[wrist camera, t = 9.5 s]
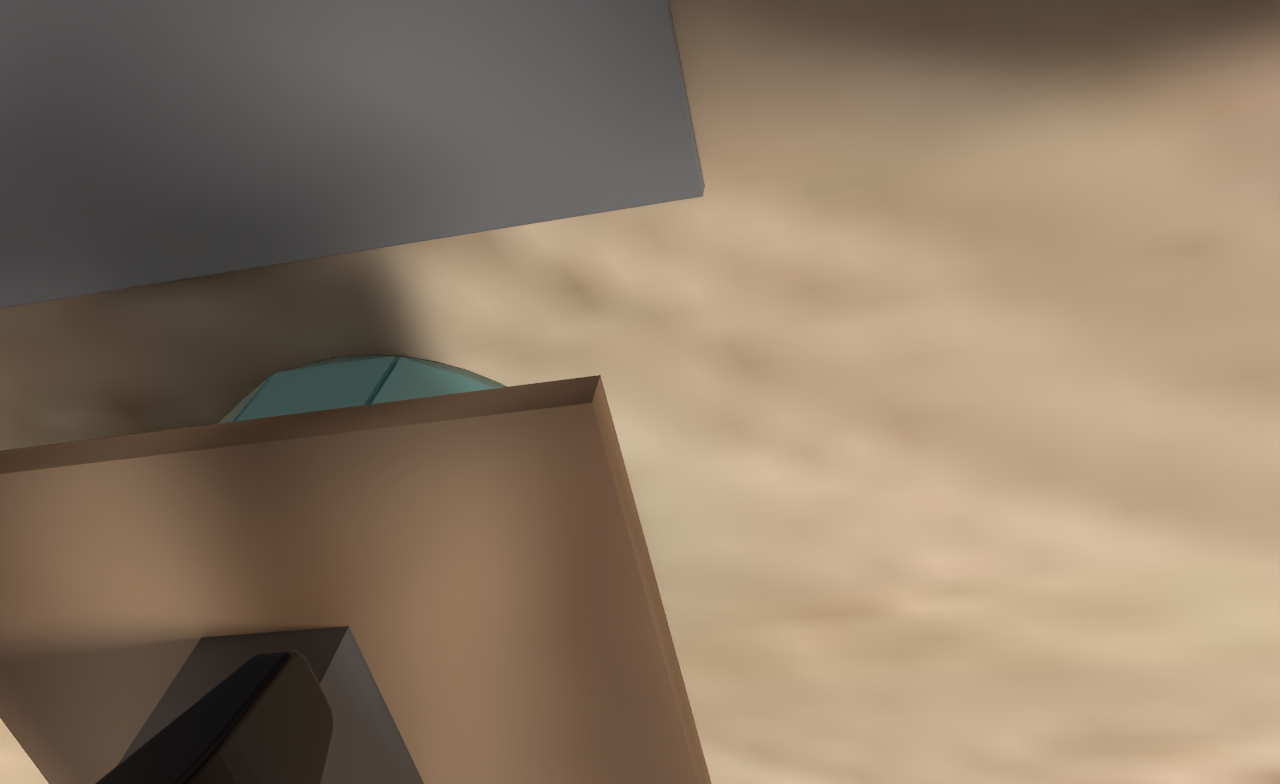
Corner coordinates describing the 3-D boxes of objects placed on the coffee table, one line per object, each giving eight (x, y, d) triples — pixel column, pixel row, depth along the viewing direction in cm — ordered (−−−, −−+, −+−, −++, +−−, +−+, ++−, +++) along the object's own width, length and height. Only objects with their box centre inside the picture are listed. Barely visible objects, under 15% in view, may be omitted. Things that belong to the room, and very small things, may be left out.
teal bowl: (582, 324, 22) (531, 466, 17) (685, 698, 27) (664, 876, 23) (120, 387, 24) (-23, 526, 20) (299, 720, 29) (216, 884, 25)
